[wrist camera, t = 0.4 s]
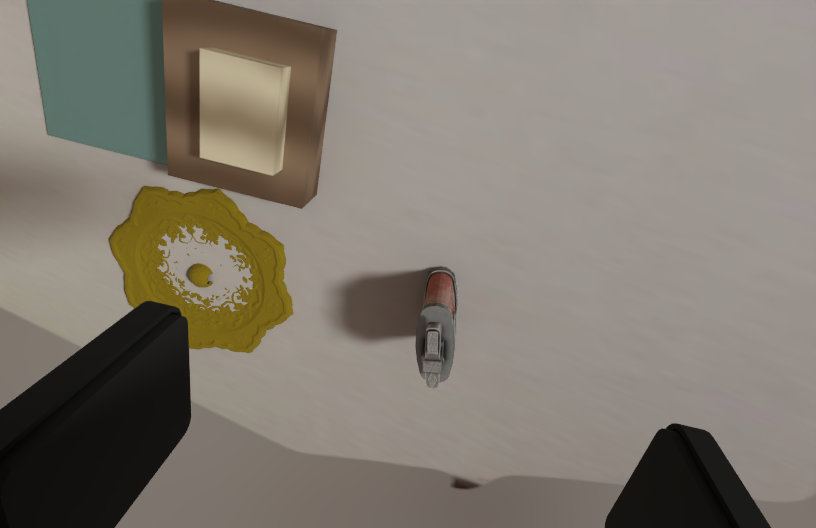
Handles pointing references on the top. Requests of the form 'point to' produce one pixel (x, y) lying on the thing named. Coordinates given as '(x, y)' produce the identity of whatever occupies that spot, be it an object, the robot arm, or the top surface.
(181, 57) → the brown flat block
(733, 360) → the top surface
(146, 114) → the mat
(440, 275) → the lighter
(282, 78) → the tile
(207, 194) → the decorative medallion
